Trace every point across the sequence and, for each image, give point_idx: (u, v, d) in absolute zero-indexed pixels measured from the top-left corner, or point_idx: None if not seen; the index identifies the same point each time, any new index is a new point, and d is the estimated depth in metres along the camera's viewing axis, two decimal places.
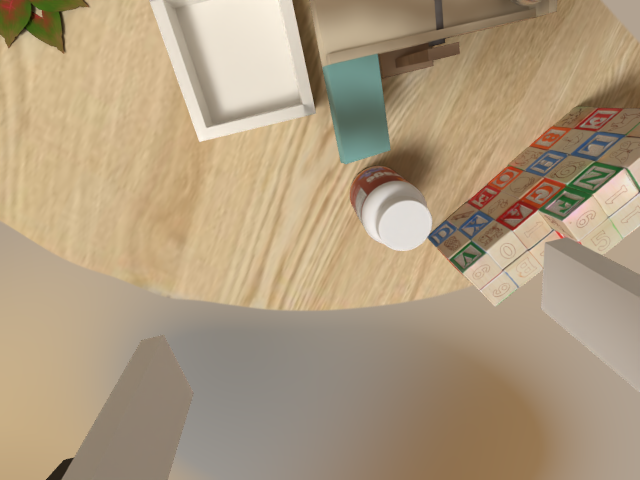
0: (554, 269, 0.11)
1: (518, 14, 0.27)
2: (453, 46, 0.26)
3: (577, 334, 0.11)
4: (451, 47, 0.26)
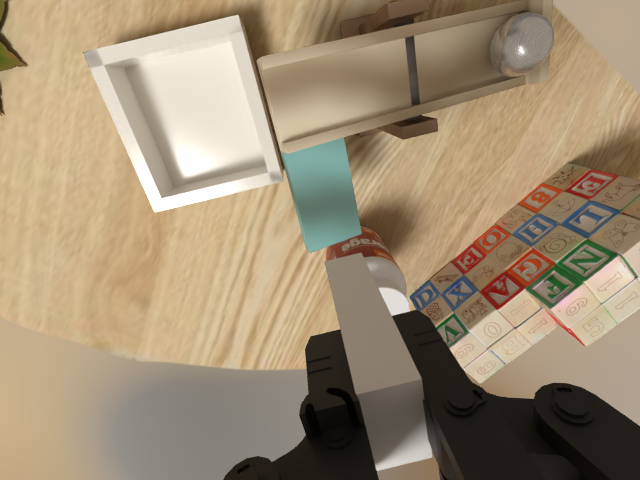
0: None
1: (505, 83, 0.24)
2: (430, 123, 0.23)
3: None
4: (429, 124, 0.23)
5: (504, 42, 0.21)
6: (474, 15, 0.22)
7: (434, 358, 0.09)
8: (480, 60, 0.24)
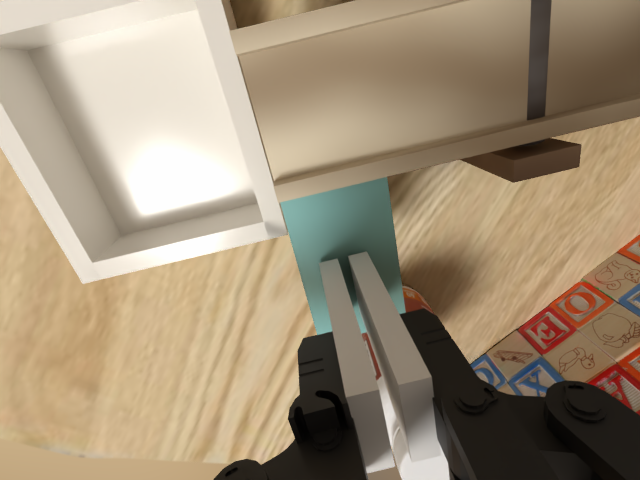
0: (353, 278, 0.13)
1: None
2: (568, 153, 0.12)
3: (367, 333, 0.13)
4: (564, 155, 0.12)
5: None
6: None
7: (443, 356, 0.09)
8: None
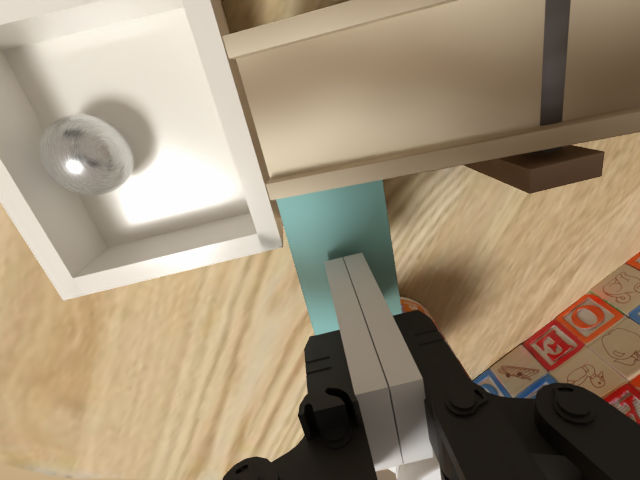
0: None
1: None
2: (590, 161, 0.11)
3: None
4: (585, 164, 0.11)
5: None
6: None
7: (435, 358, 0.09)
8: None
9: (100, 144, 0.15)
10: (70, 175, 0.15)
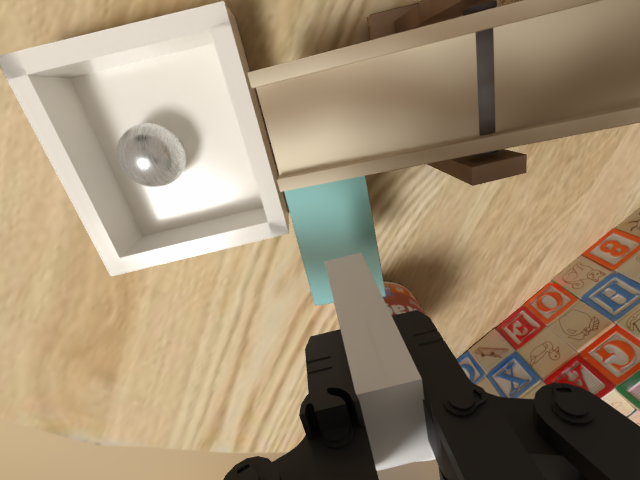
0: None
1: None
2: (516, 161, 0.15)
3: None
4: (513, 163, 0.15)
5: None
6: None
7: (434, 358, 0.09)
8: (631, 61, 0.13)
9: (177, 142, 0.20)
10: (160, 165, 0.19)
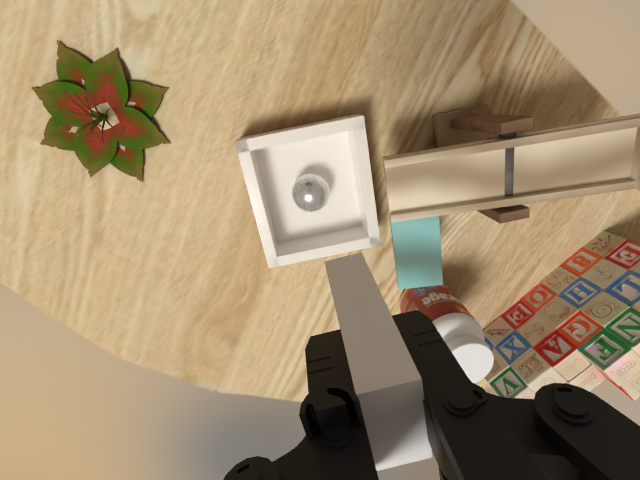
0: None
1: (608, 186, 0.26)
2: (524, 211, 0.28)
3: None
4: (522, 212, 0.28)
5: None
6: (578, 132, 0.25)
7: (434, 358, 0.09)
8: (584, 164, 0.27)
9: None
10: (327, 197, 0.32)
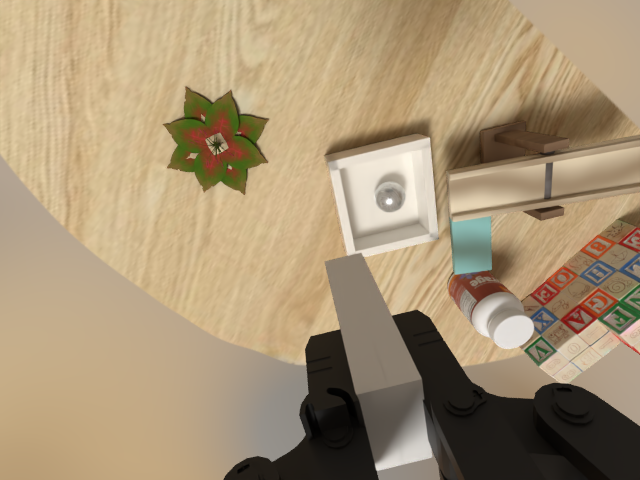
0: None
1: (627, 190, 0.34)
2: (559, 210, 0.35)
3: None
4: (558, 211, 0.35)
5: (374, 195, 0.41)
6: (604, 149, 0.32)
7: (434, 358, 0.09)
8: (608, 172, 0.34)
9: None
10: (405, 197, 0.40)
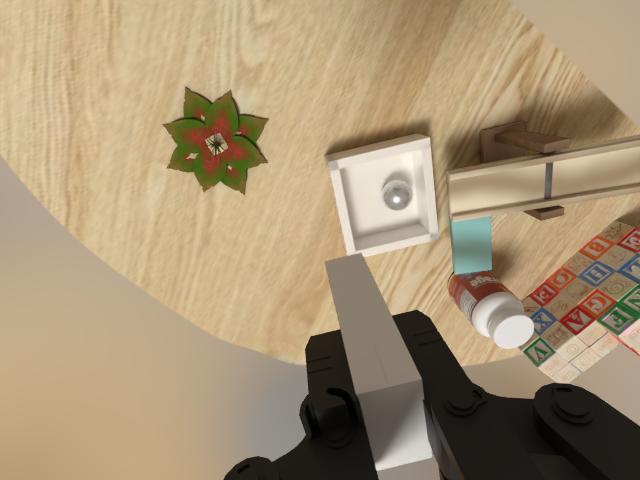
0: None
1: (627, 190, 0.34)
2: (559, 210, 0.35)
3: None
4: (558, 211, 0.35)
5: (382, 195, 0.40)
6: (604, 149, 0.32)
7: (434, 359, 0.09)
8: (608, 172, 0.34)
9: None
10: None
